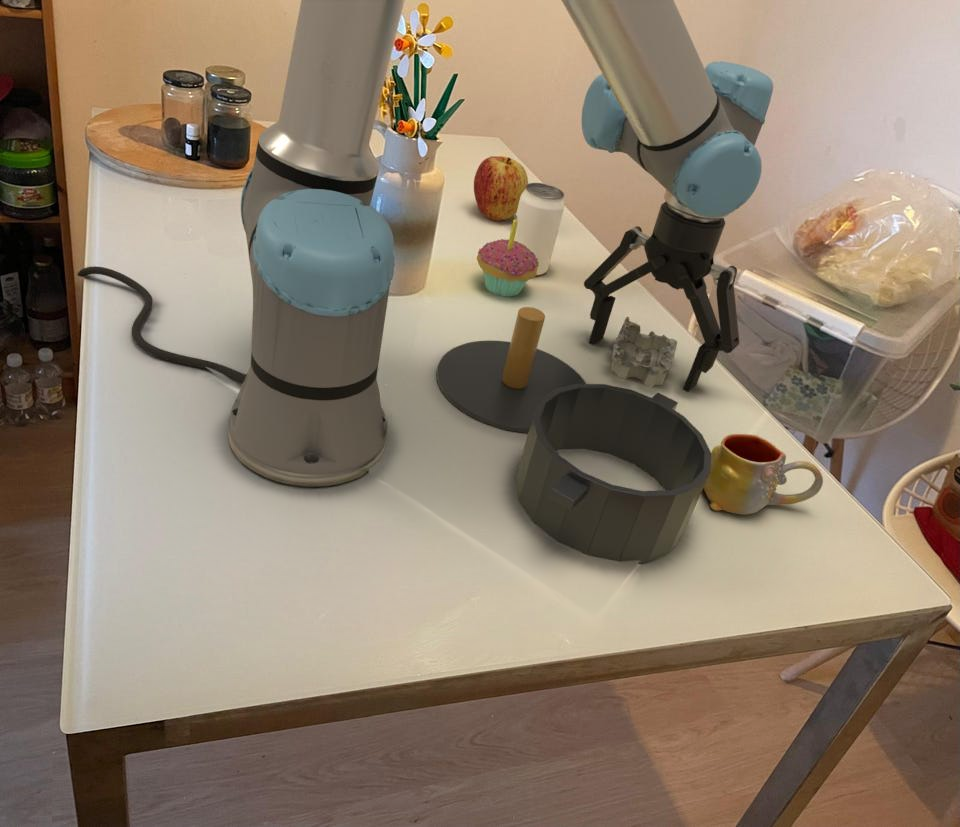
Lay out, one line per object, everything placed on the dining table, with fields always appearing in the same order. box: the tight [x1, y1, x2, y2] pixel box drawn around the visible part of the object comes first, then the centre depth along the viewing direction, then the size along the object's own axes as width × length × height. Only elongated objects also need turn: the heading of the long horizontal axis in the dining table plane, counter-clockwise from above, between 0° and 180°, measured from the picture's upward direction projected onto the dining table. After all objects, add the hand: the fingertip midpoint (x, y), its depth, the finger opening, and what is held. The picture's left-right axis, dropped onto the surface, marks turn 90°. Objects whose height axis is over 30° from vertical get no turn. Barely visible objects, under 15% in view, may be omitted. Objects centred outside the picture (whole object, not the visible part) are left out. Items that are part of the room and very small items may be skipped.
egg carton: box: [610, 316, 678, 388], centre depth 107 cm, size 11×8×4 cm
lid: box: [436, 306, 587, 434], centre depth 95 cm, size 18×18×10 cm
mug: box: [703, 433, 824, 516], centre depth 87 cm, size 12×7×7 cm, turn 84°
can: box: [514, 182, 565, 277], centre depth 123 cm, size 6×6×12 cm
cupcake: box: [476, 214, 539, 297], centre depth 115 cm, size 9×8×12 cm
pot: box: [514, 383, 712, 565], centre depth 82 cm, size 17×22×8 cm
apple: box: [473, 155, 529, 222], centre depth 137 cm, size 9×9×10 cm
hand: (640, 366), depth 108 cm, fingers open, 13 cm apart
